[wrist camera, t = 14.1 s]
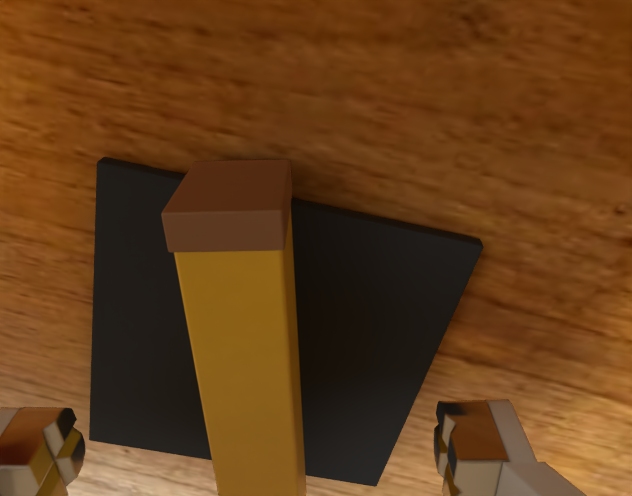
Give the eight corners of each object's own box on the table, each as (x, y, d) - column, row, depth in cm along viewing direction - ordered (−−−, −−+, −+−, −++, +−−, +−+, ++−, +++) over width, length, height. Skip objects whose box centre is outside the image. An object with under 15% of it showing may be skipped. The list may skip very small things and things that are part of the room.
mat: (102, 155, 11) (95, 161, 11) (480, 238, 12) (484, 246, 12) (93, 430, 16) (88, 440, 15) (375, 476, 17) (376, 487, 16)
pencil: (194, 160, 11) (159, 212, 9) (290, 158, 11) (283, 210, 9) (246, 514, 17) (234, 603, 15) (309, 514, 17) (307, 602, 15)
